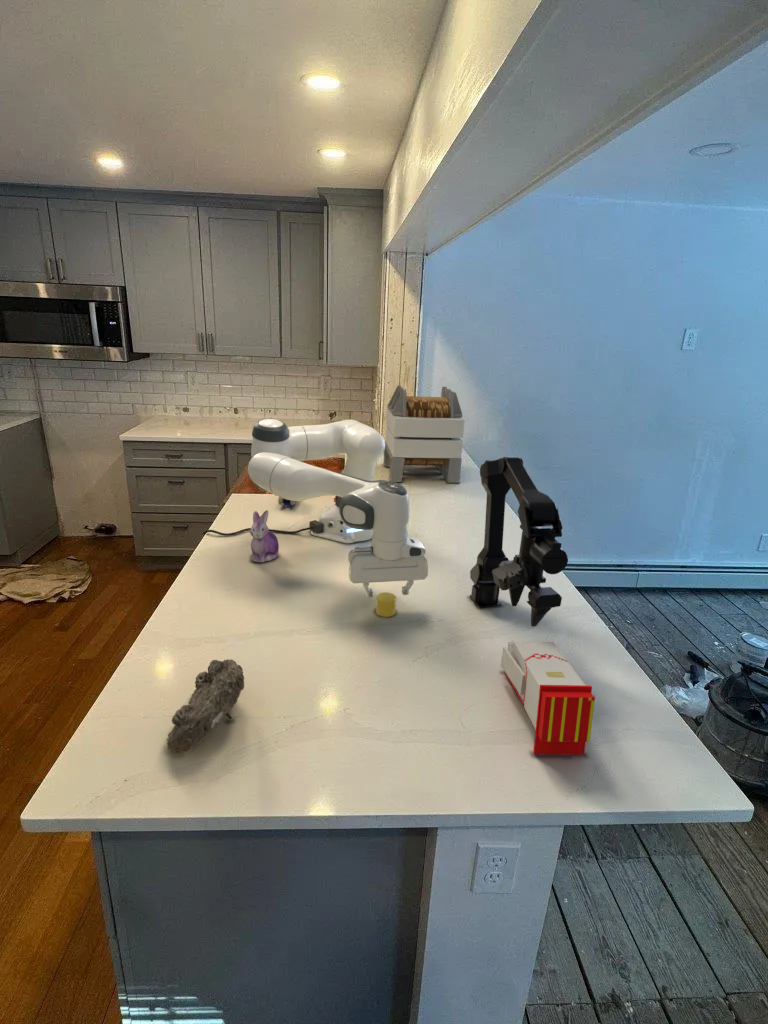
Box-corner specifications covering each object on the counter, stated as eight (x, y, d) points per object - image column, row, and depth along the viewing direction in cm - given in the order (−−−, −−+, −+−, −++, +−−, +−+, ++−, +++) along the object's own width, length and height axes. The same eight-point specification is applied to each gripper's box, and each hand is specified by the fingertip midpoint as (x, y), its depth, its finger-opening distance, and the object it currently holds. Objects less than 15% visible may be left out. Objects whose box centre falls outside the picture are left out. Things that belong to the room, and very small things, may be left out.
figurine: (254, 565, 170) (252, 519, 165) (245, 552, 179) (243, 508, 174) (284, 560, 175) (283, 515, 169) (274, 548, 183) (273, 504, 178)
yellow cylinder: (397, 616, 146) (397, 601, 145) (377, 617, 146) (378, 602, 144) (393, 606, 151) (394, 591, 150) (374, 607, 150) (375, 592, 149)
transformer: (382, 463, 289) (386, 382, 275) (445, 464, 293) (451, 384, 279) (390, 482, 257) (394, 392, 243) (460, 483, 261) (468, 394, 247)
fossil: (192, 660, 117) (244, 628, 112) (224, 691, 120) (276, 661, 115) (142, 746, 98) (202, 712, 93) (182, 779, 101) (242, 748, 96)
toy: (549, 624, 127) (604, 693, 98) (544, 678, 130) (596, 762, 100) (496, 622, 127) (535, 692, 97) (491, 677, 129) (528, 761, 100)
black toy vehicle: (295, 514, 218) (300, 497, 231) (295, 496, 214) (299, 480, 228) (278, 513, 217) (283, 497, 231) (277, 495, 214) (283, 480, 227)
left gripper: (350, 553, 137) (349, 603, 142) (431, 549, 141) (428, 598, 146) (346, 542, 143) (345, 591, 148) (425, 539, 147) (421, 587, 152)
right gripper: (481, 540, 132) (474, 599, 138) (520, 575, 115) (511, 641, 121) (524, 537, 135) (516, 595, 141) (568, 571, 118) (557, 635, 124)
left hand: (387, 595), depth 147 cm, fingers open, 8 cm apart
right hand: (523, 615), depth 131 cm, fingers open, 9 cm apart
